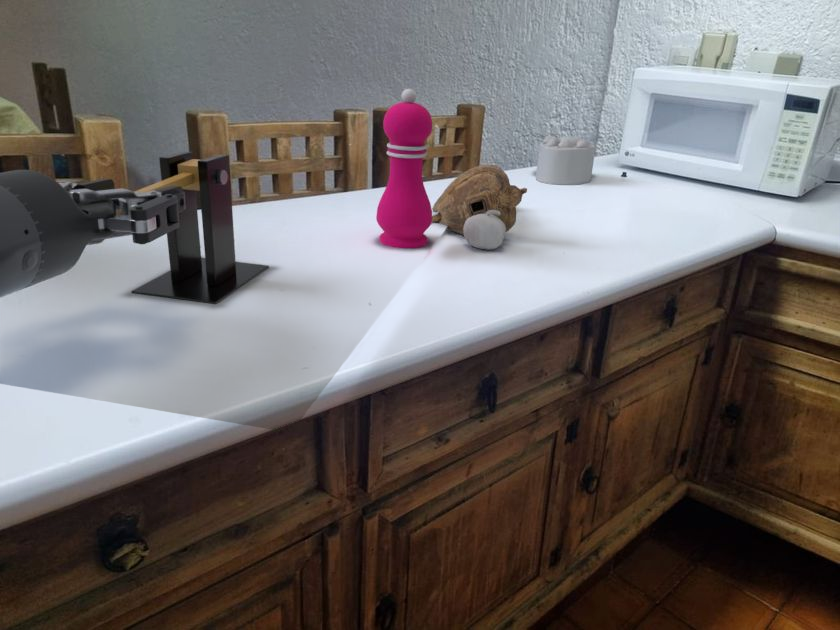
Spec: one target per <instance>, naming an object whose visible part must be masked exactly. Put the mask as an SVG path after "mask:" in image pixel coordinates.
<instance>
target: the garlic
mask: <svg viewBox="0 0 840 630" xmlns="http://www.w3.org/2000/svg"><path fill="white" fill-rule="evenodd" d="M491 214H495V215H500V212H499V211H496V210H489V211H487V212H486V214H477V215H474V216H472V217H470V218H468V219H467V220H466V222H465V224H464V228H463V232H464V235H463V236H464V239H465V240H466V242H467V244H469V246H471V247H474V248H476V249H480V250H487V251H488V250H489V251H491V250H494V249H497V248H498V247H500V246H501V245H502V243H503V241H504V239H505V237H506V233H507V232H506V228H505V224H504V223H503V222H502V221H501V220H500V219H499V218H498V217H496V216H494V215H491Z"/></svg>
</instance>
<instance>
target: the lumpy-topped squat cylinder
mask: <svg viewBox="0 0 840 630" xmlns="http://www.w3.org/2000/svg"><path fill="white" fill-rule="evenodd" d="M595 155H596V145H595V144H590V142H589V141H588V140H587V139H585V138H583V137H573V136H568V135H566V136H562V137H561V138H557V137H556V136H554V135H547V136H545V138H544V139H543V141H542V142H540V143H539V147H538V156H537V164H536V172H535V180H536V181H538V182H540V183H543V184H549V185H561V186H571V185H572V186H573V185H574V186H575V185H582V184H587V183H590V182H591V181H592V175H593V169H594V168H593V167H594V162H595Z"/></svg>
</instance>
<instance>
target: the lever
mask: <svg viewBox="0 0 840 630" xmlns="http://www.w3.org/2000/svg"><path fill="white" fill-rule="evenodd" d="M199 160H200V159H197V158H193V159H191V160H189V161H186V162H183V163H180V164H178V165H177V166H178V175H176V176H173V177H170V178H168V179H165V180H163V181H161V180H160V181H157V182H155V183H153V184H150V185H148V186H145V187H142V188H140V189H137V190H133V192H135V193H143V192H150V191H155V190H159V189H162V188H166V187H170V186H180V187H182V189H187V190H196V192H198V191H199V192H200V186H199V173H198V161H199ZM95 191H100V190H95ZM111 200H112V201H113V202H114V204H115V207H116V212H120V204H119V199H111ZM145 202H146V201H145ZM145 202H139V203H138V204H137V205H140V204H142V203H145Z"/></svg>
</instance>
